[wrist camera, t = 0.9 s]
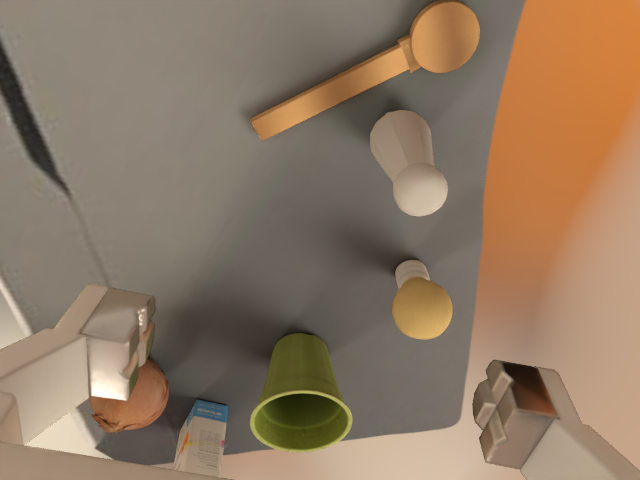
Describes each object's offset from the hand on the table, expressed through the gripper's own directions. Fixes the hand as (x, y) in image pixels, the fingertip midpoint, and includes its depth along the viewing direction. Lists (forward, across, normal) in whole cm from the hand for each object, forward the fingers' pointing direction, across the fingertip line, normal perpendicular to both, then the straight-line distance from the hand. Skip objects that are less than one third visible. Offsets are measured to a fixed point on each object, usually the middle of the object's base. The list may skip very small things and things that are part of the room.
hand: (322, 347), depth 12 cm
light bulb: (+42, -14, +24) cm, 51 cm away
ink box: (+42, +8, +57) cm, 71 cm away
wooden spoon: (+40, -2, +3) cm, 40 cm away
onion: (+40, +17, +46) cm, 64 cm away
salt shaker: (+41, -7, +8) cm, 42 cm away
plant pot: (+42, -3, +40) cm, 58 cm away
